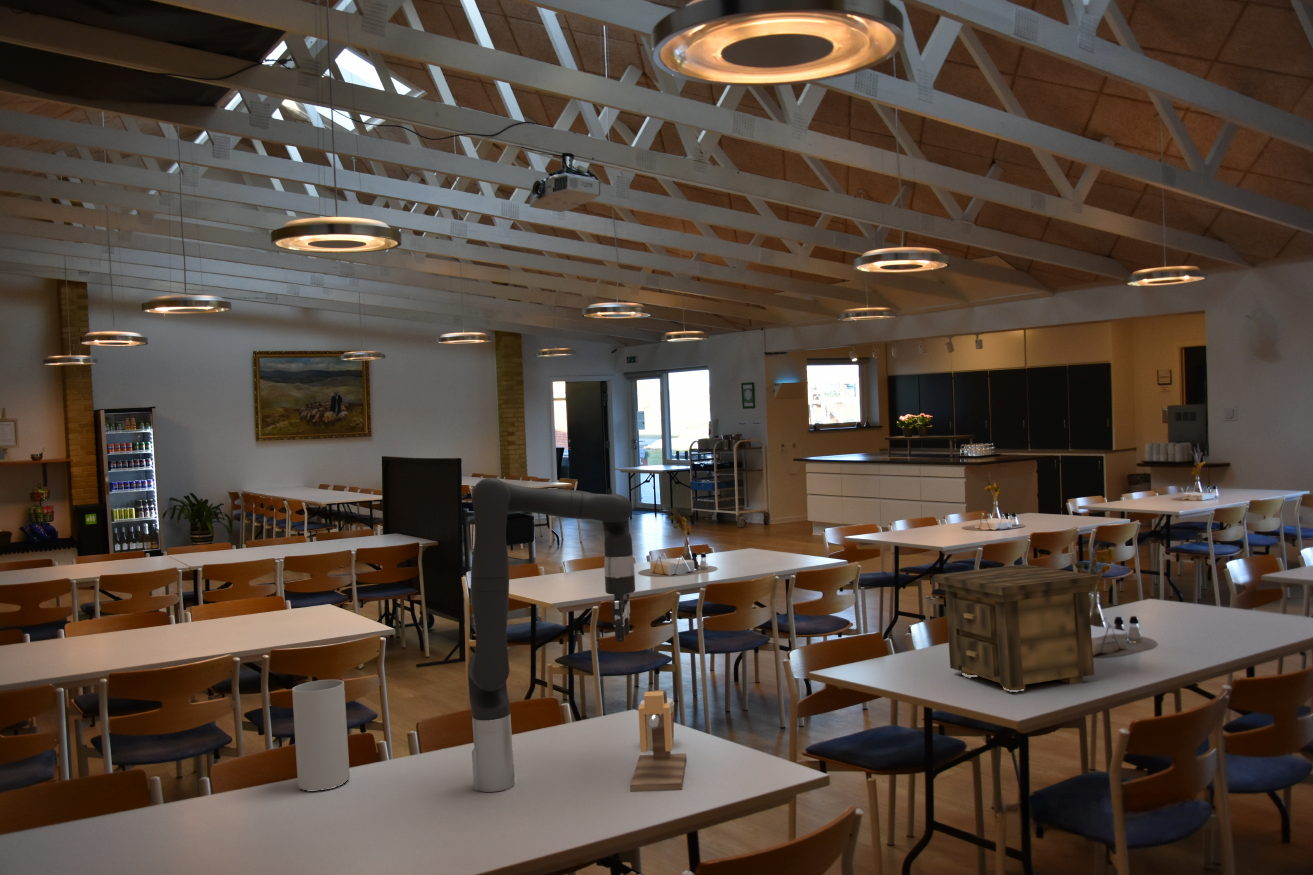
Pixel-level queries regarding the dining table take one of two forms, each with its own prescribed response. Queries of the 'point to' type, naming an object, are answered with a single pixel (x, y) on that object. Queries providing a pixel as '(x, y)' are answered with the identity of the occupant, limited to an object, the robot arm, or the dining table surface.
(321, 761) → the cylinder vase
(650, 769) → the hook rack
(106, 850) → the dining table surface
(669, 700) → the coffee cup
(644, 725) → the forked wooden block
